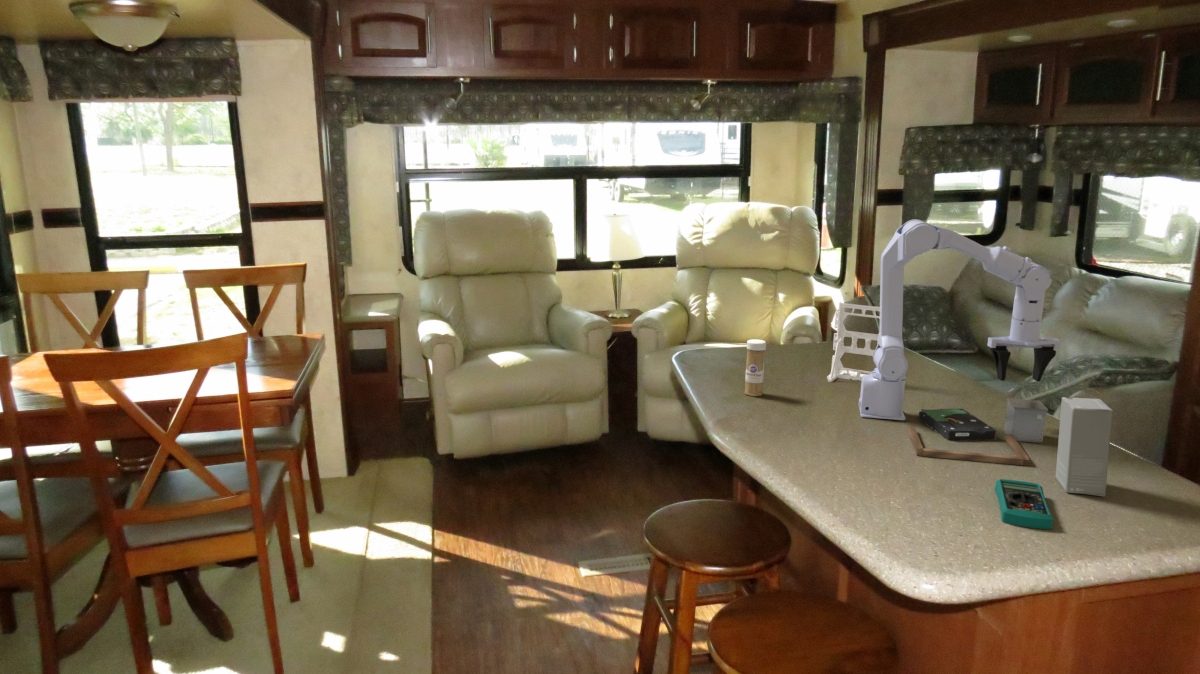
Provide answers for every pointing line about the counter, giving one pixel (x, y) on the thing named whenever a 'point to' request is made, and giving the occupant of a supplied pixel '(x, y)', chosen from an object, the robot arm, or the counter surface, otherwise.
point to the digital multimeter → (1023, 504)
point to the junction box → (1025, 420)
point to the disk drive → (957, 424)
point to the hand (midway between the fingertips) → (1018, 379)
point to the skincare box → (1083, 445)
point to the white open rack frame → (853, 349)
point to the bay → (1019, 452)
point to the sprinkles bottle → (755, 367)
